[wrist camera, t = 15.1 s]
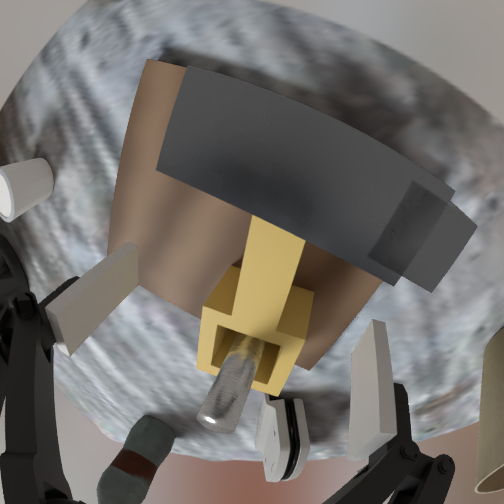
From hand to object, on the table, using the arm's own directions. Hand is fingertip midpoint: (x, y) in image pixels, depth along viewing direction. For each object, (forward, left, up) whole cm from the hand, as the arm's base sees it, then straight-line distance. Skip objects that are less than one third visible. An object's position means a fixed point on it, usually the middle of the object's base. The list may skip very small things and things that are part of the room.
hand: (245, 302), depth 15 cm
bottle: (-4, -51, -11) cm, 53 cm away
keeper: (0, +8, -11) cm, 13 cm away
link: (+1, -2, -9) cm, 9 cm away
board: (-3, -1, -11) cm, 11 cm away
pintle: (+2, -7, -11) cm, 13 cm away
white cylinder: (-30, -7, -11) cm, 33 cm away
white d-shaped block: (+13, -28, -11) cm, 33 cm away
